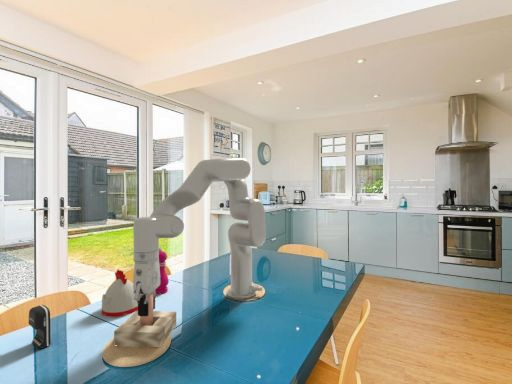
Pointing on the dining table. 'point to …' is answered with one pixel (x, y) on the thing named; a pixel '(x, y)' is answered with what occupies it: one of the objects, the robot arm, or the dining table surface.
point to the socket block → (145, 330)
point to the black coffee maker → (40, 325)
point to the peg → (149, 319)
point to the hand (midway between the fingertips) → (146, 311)
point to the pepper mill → (162, 273)
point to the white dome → (119, 297)
